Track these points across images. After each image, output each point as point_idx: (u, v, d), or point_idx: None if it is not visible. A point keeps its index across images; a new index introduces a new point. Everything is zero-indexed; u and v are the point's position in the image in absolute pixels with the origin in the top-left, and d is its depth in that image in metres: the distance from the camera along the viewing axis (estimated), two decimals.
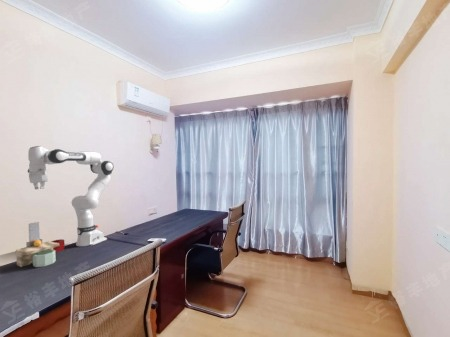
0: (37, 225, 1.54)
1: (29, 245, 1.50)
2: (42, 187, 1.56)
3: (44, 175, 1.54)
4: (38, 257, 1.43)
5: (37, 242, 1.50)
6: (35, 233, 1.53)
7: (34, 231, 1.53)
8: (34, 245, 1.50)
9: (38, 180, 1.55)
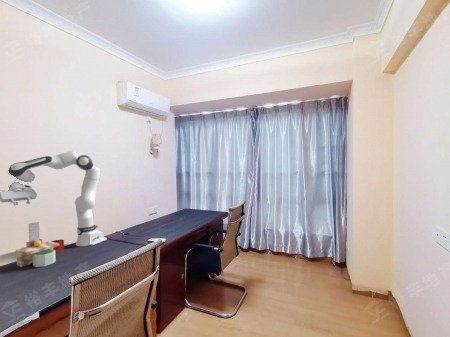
0: (37, 225, 1.54)
1: (29, 245, 1.50)
2: (14, 203, 1.56)
3: None
4: (38, 257, 1.43)
5: (37, 242, 1.50)
6: (35, 233, 1.53)
7: (34, 231, 1.53)
8: (34, 245, 1.50)
9: None
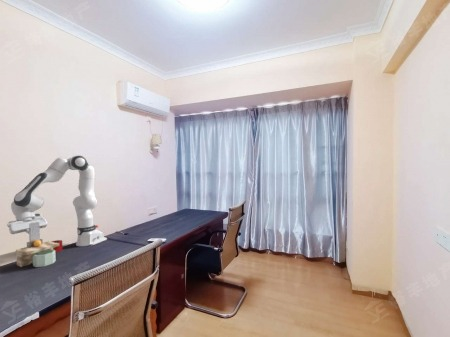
0: (37, 225, 1.54)
1: (29, 245, 1.50)
2: None
3: (9, 227, 1.48)
4: (38, 257, 1.43)
5: (37, 242, 1.50)
6: (35, 233, 1.53)
7: (34, 231, 1.53)
8: (34, 245, 1.50)
9: None
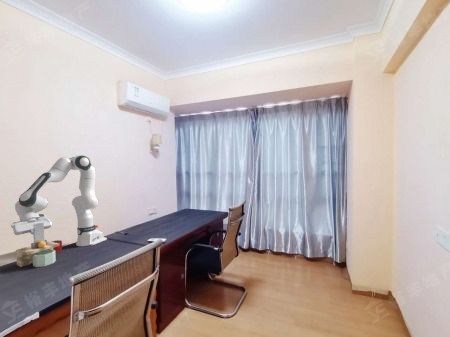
0: (42, 226, 1.52)
1: (34, 246, 1.47)
2: None
3: (13, 228, 1.45)
4: (38, 257, 1.43)
5: None
6: (40, 234, 1.50)
7: (39, 232, 1.50)
8: (38, 244, 1.48)
9: None
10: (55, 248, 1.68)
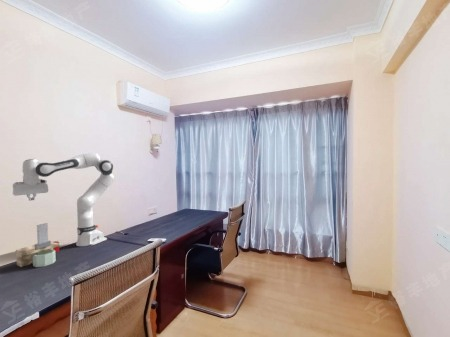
0: (46, 226, 1.49)
1: (38, 247, 1.45)
2: (29, 199, 1.65)
3: (14, 189, 1.57)
4: (38, 257, 1.43)
5: None
6: (44, 235, 1.48)
7: (43, 233, 1.48)
8: None
9: None
10: None
